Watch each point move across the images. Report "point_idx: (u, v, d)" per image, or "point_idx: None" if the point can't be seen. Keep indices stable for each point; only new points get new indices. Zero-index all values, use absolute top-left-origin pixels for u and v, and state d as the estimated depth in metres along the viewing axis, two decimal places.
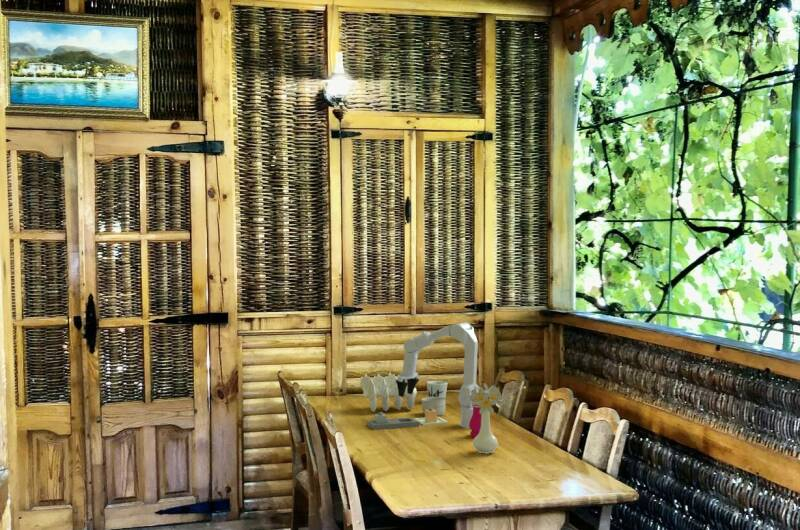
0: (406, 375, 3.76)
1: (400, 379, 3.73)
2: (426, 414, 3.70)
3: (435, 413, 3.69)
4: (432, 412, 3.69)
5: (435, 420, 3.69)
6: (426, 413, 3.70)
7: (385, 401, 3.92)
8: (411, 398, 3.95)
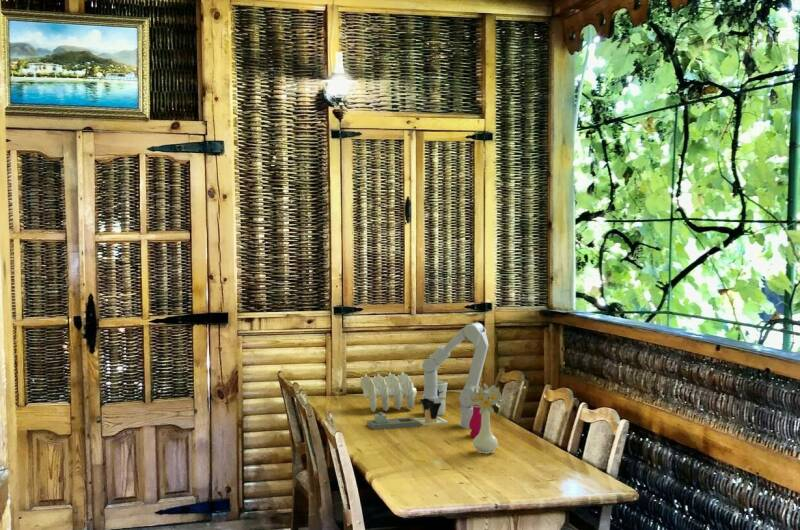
0: (434, 396, 3.68)
1: (437, 400, 3.64)
2: (426, 414, 3.70)
3: None
4: None
5: (435, 420, 3.69)
6: (426, 413, 3.70)
7: (385, 401, 3.92)
8: (411, 398, 3.95)
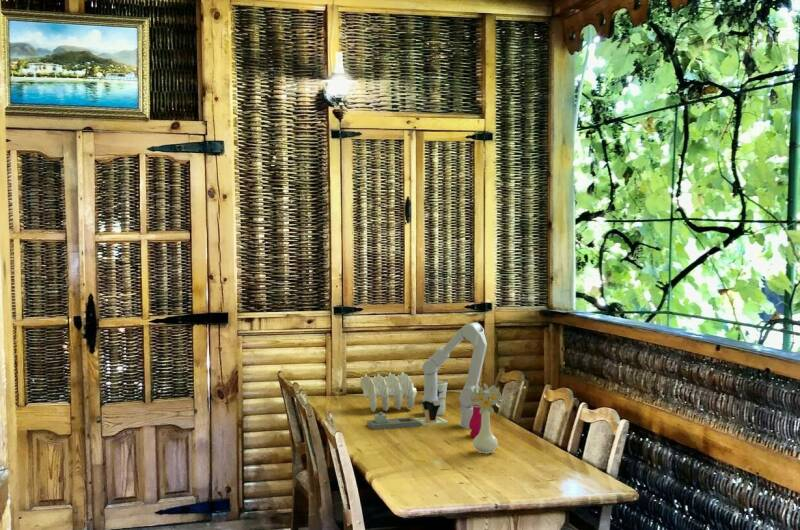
0: (434, 398, 3.68)
1: (437, 403, 3.64)
2: (426, 414, 3.70)
3: None
4: None
5: (435, 420, 3.69)
6: (426, 413, 3.70)
7: (385, 401, 3.92)
8: (411, 398, 3.95)
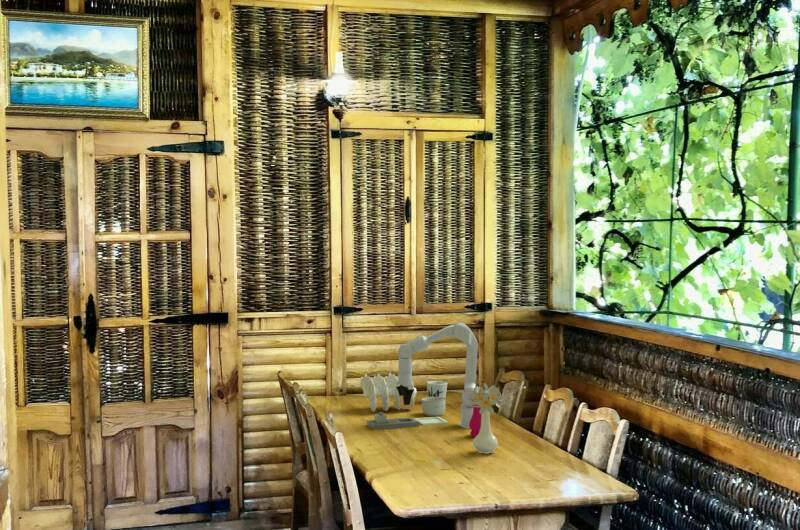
0: (408, 382, 3.62)
1: (411, 387, 3.58)
2: (401, 400, 3.64)
3: None
4: None
5: (410, 406, 3.63)
6: (401, 399, 3.64)
7: (385, 401, 3.92)
8: None
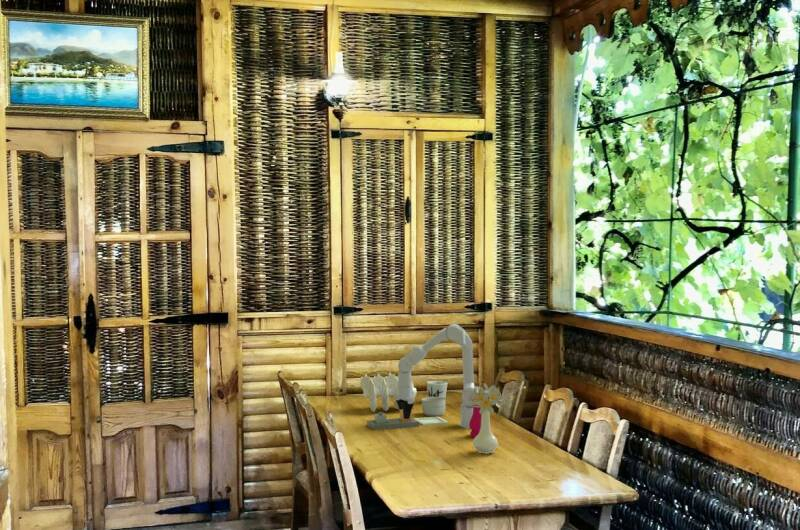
0: (408, 396, 3.62)
1: (411, 401, 3.58)
2: (401, 414, 3.64)
3: None
4: None
5: (410, 420, 3.64)
6: (401, 413, 3.64)
7: (385, 401, 3.92)
8: None
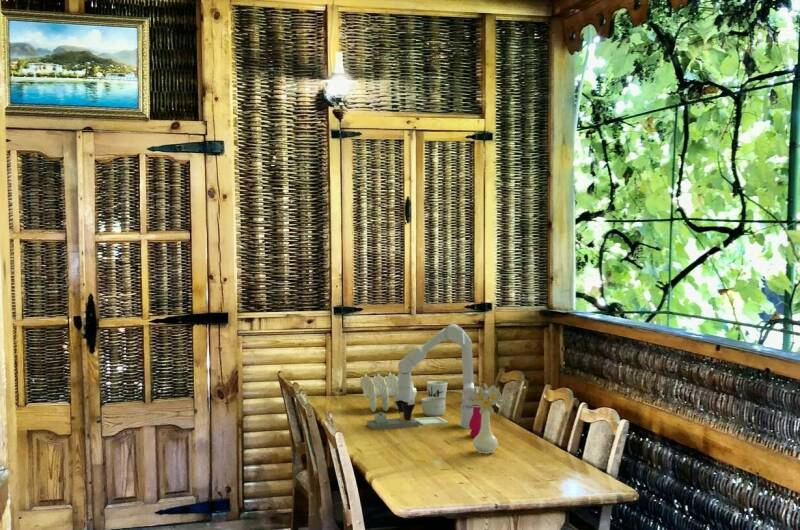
0: (408, 397, 3.62)
1: (411, 402, 3.58)
2: (401, 417, 3.64)
3: None
4: None
5: None
6: (401, 416, 3.64)
7: (385, 401, 3.92)
8: None
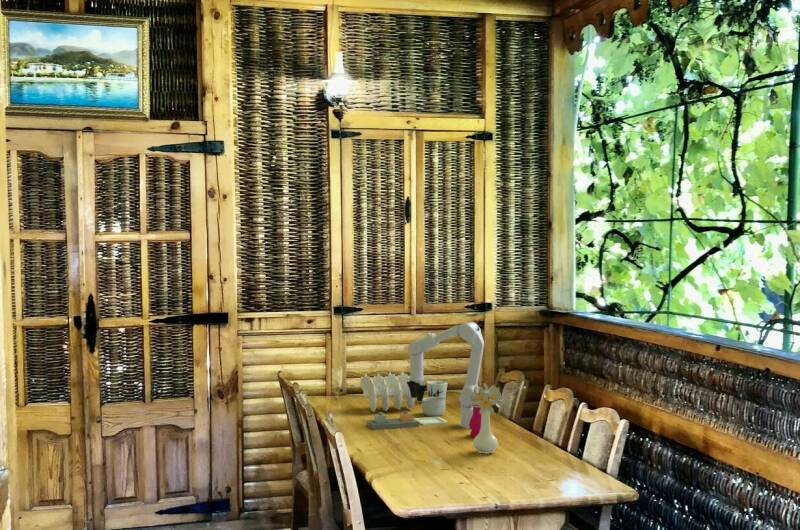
0: (420, 378, 3.70)
1: (423, 382, 3.66)
2: (401, 417, 3.64)
3: (410, 416, 3.64)
4: (407, 415, 3.63)
5: None
6: (401, 416, 3.64)
7: (385, 401, 3.92)
8: (411, 398, 3.95)
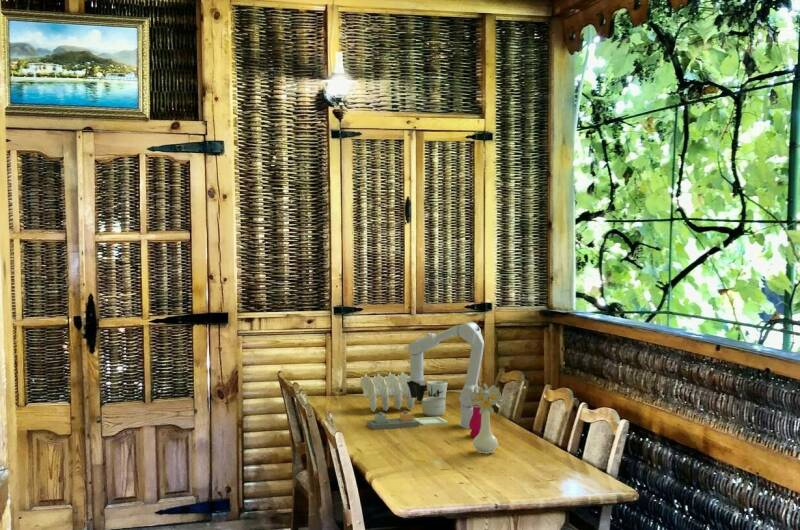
0: (420, 378, 3.70)
1: (423, 382, 3.66)
2: (401, 417, 3.64)
3: (410, 416, 3.64)
4: (407, 415, 3.63)
5: None
6: (401, 416, 3.64)
7: (385, 401, 3.92)
8: (411, 398, 3.95)
